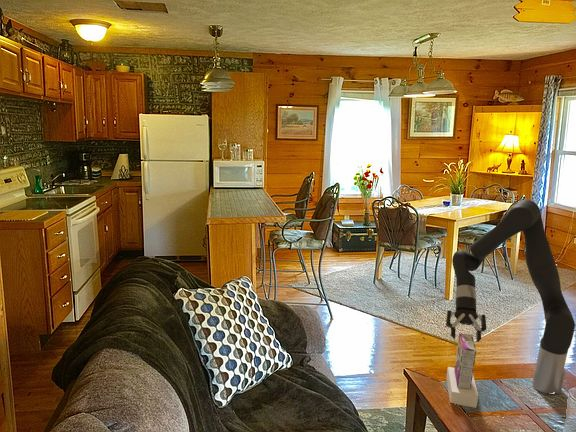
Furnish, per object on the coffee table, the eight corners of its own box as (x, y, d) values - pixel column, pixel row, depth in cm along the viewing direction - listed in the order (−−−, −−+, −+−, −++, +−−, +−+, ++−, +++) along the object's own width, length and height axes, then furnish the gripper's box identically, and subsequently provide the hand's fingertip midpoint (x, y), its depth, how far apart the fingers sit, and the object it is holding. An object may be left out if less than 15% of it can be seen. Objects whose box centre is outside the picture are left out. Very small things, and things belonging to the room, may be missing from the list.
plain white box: (470, 381, 184) (472, 370, 182) (476, 407, 169) (478, 395, 167) (446, 377, 186) (447, 366, 184) (450, 403, 171) (451, 391, 169)
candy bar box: (453, 370, 182) (458, 332, 177) (466, 372, 181) (472, 334, 176) (456, 388, 171) (462, 348, 167) (470, 390, 170) (477, 350, 166)
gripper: (448, 293, 182) (447, 334, 175) (487, 297, 180) (488, 339, 172) (445, 300, 189) (444, 339, 181) (483, 304, 186) (483, 345, 178)
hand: (465, 339), depth 177 cm, fingers open, 8 cm apart
